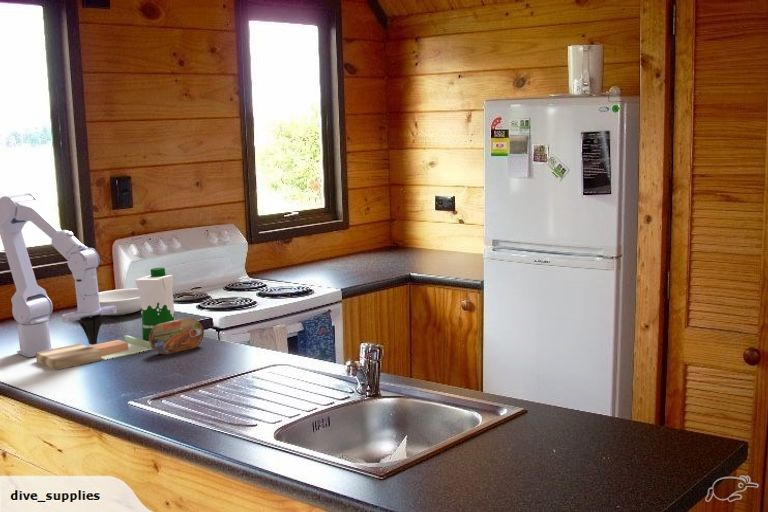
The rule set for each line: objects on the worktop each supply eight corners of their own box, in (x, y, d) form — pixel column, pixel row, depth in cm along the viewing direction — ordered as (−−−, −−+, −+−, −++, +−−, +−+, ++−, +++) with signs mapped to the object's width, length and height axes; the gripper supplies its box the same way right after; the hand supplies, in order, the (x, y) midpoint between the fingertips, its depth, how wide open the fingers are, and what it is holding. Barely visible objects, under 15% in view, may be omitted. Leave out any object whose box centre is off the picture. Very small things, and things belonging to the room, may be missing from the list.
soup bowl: (173, 308, 307) (171, 289, 306) (118, 324, 287) (116, 303, 286) (124, 305, 320) (122, 286, 319) (68, 319, 300) (65, 299, 299)
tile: (87, 353, 248) (87, 346, 247) (119, 346, 253) (118, 339, 253) (97, 356, 243) (96, 349, 243) (128, 349, 249) (127, 342, 249)
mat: (80, 351, 252) (79, 345, 252) (127, 341, 261) (127, 335, 261) (105, 360, 240) (104, 353, 239) (153, 349, 249) (153, 342, 248)
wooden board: (36, 361, 243) (35, 352, 243) (80, 352, 251) (79, 343, 250) (56, 370, 232) (55, 360, 232) (101, 360, 240) (100, 350, 240)
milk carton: (181, 335, 264) (175, 267, 262) (163, 342, 256) (156, 272, 253) (156, 334, 268) (150, 267, 265) (137, 341, 259) (130, 272, 257)
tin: (153, 357, 240) (150, 326, 239) (148, 355, 243) (145, 324, 241) (205, 346, 249) (202, 316, 248) (200, 344, 251) (197, 314, 250)
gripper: (66, 300, 236) (72, 351, 238) (119, 291, 245) (124, 340, 247) (56, 297, 241) (62, 347, 243) (108, 288, 251) (113, 337, 253)
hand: (92, 343), depth 246 cm, fingers closed
